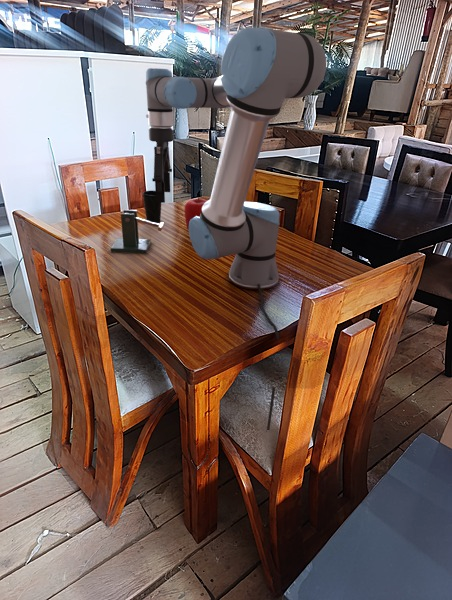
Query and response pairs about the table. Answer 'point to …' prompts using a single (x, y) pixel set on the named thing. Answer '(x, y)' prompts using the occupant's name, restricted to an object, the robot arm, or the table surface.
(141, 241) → the stand
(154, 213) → the cup
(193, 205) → the apple
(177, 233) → the table surface
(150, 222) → the switch lever
